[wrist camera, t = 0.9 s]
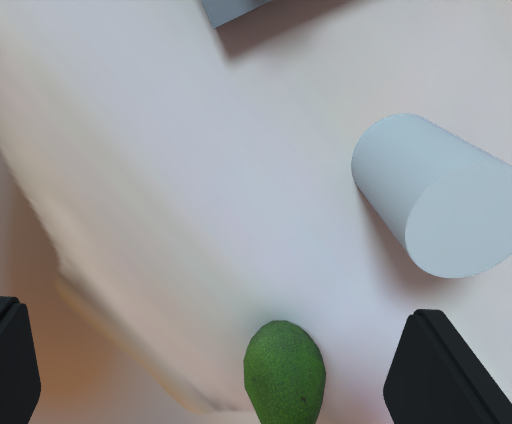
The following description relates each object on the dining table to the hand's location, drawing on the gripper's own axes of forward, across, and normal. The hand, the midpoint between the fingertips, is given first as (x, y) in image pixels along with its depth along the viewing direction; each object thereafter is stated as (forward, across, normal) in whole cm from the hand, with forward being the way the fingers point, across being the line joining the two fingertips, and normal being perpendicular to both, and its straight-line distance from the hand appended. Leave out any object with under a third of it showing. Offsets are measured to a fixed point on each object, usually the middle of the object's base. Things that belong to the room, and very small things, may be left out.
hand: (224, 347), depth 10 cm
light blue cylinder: (+25, -16, +3) cm, 30 cm away
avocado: (+26, -8, +23) cm, 35 cm away
